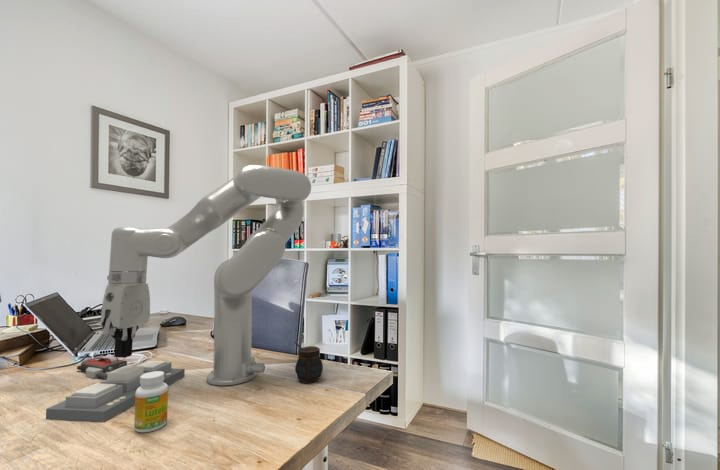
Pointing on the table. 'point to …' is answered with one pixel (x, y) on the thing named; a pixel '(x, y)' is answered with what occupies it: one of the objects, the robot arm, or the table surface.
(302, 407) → the table surface
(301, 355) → the mate gourd
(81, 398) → the button panel
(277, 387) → the table surface
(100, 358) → the walkie-talkie
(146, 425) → the supplement bottle
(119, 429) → the table surface
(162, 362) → the button
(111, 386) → the button
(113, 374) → the button
